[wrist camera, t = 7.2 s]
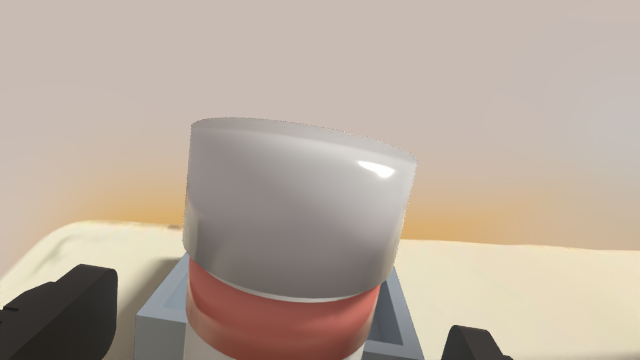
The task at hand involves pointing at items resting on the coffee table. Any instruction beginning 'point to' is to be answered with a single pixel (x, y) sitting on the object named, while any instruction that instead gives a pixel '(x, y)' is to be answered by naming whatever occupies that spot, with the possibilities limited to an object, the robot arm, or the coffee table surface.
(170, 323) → the parts tray
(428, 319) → the coffee table surface
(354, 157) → the marked fuse
